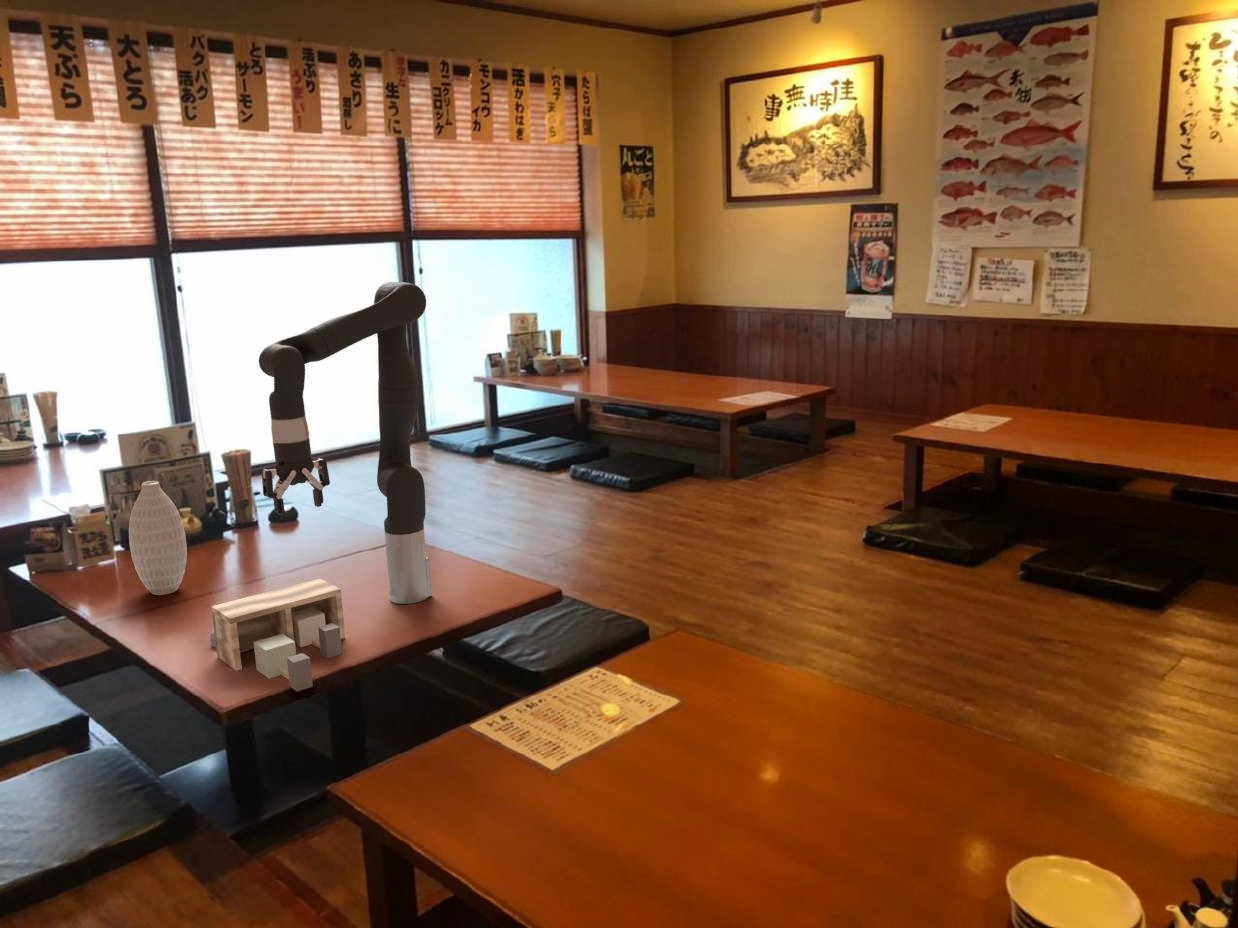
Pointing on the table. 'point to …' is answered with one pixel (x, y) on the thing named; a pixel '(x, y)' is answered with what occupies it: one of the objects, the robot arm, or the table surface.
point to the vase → (157, 540)
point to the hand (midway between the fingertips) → (299, 510)
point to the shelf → (271, 616)
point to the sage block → (283, 661)
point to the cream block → (316, 631)
